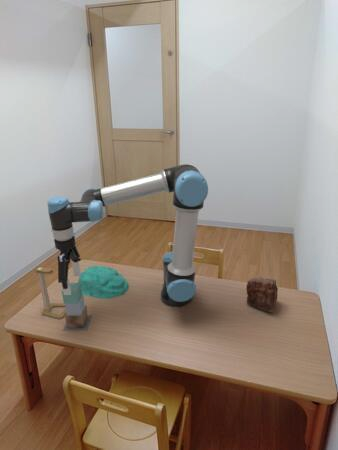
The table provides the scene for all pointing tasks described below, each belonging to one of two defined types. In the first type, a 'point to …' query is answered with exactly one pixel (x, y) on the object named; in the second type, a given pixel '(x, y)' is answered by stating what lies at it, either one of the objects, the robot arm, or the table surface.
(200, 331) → the table surface
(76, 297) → the teal block
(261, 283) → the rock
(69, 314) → the gray block
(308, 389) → the table surface
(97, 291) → the decorative stone
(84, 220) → the robot arm
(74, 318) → the base block
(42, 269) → the headphone stand
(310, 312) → the table surface
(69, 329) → the coaster
